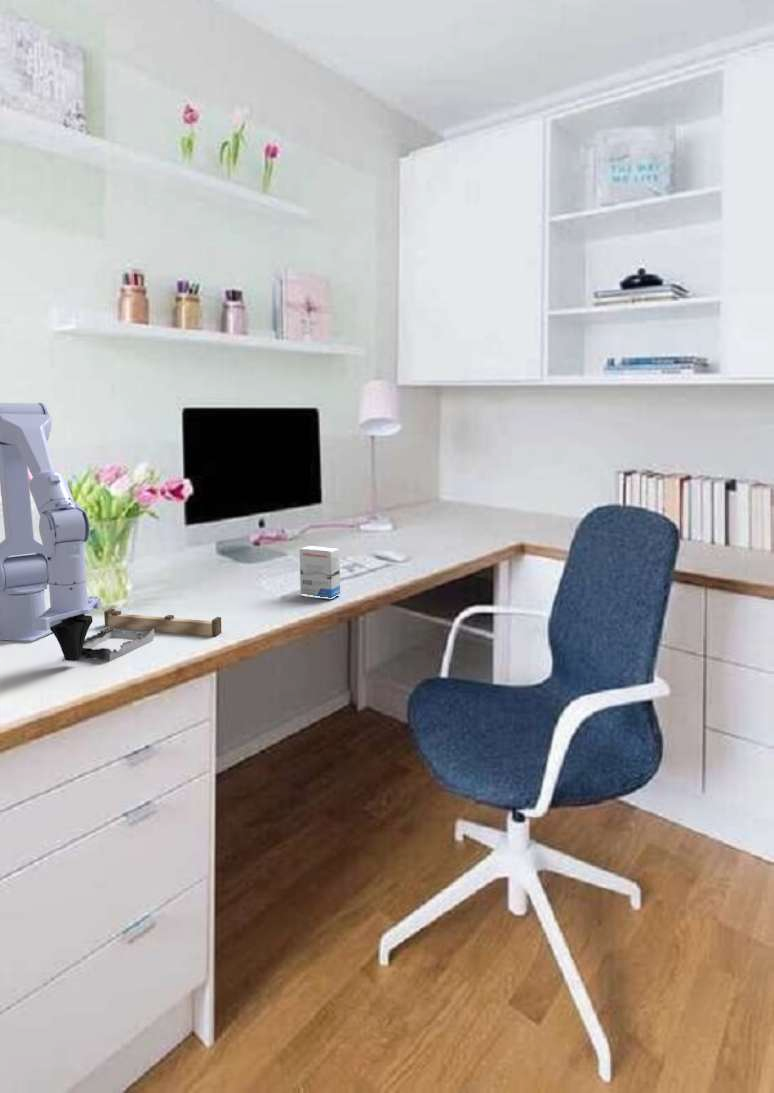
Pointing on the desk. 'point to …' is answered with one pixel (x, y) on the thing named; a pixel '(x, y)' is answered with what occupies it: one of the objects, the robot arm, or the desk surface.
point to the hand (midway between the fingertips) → (72, 659)
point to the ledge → (162, 623)
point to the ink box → (320, 571)
